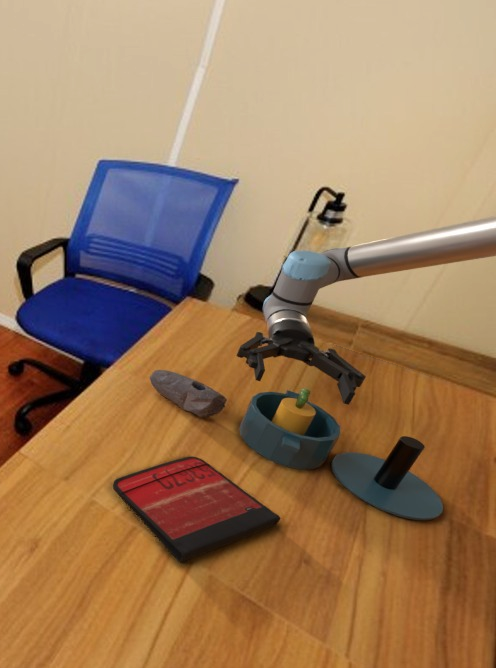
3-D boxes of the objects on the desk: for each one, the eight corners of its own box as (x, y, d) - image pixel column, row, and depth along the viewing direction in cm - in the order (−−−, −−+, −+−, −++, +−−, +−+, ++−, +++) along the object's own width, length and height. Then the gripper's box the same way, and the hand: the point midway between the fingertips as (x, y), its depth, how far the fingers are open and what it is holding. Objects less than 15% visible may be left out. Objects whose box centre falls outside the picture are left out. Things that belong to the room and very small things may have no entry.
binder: (281, 516, 84) (184, 555, 78) (277, 526, 85) (180, 565, 79) (196, 450, 98) (107, 479, 92) (193, 459, 99) (105, 488, 93)
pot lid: (432, 481, 93) (465, 436, 87) (447, 538, 82) (485, 492, 77) (329, 445, 101) (353, 402, 96) (330, 492, 91) (358, 447, 86)
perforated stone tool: (140, 388, 117) (148, 363, 114) (154, 381, 119) (162, 357, 116) (206, 428, 105) (217, 402, 102) (221, 419, 107) (232, 394, 104)
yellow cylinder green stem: (297, 439, 101) (324, 387, 95) (297, 455, 98) (325, 402, 92) (265, 428, 104) (290, 377, 98) (264, 442, 101) (289, 391, 95)
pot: (323, 431, 104) (338, 403, 101) (324, 491, 91) (342, 461, 88) (243, 403, 112) (255, 376, 108) (234, 455, 99) (247, 427, 95)
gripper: (354, 364, 109) (380, 424, 93) (218, 332, 121) (220, 381, 105) (370, 335, 106) (400, 393, 90) (228, 305, 118) (232, 351, 102)
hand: (303, 386), depth 97 cm, fingers open, 13 cm apart
